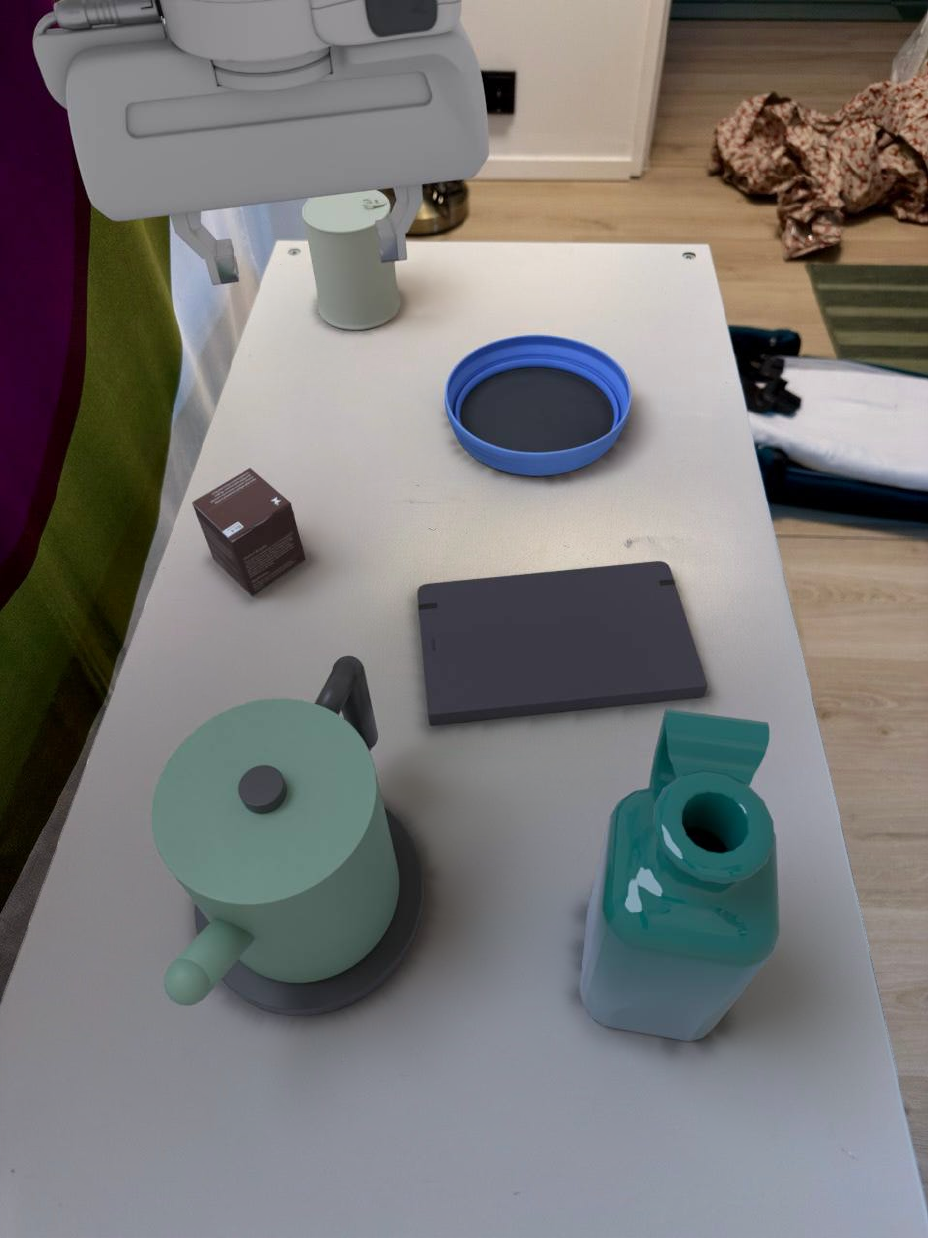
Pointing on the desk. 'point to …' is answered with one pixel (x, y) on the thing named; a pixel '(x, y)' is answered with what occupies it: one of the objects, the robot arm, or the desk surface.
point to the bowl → (537, 404)
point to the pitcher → (684, 885)
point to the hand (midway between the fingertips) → (310, 267)
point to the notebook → (555, 642)
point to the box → (250, 530)
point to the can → (350, 260)
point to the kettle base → (358, 977)
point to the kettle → (279, 838)
